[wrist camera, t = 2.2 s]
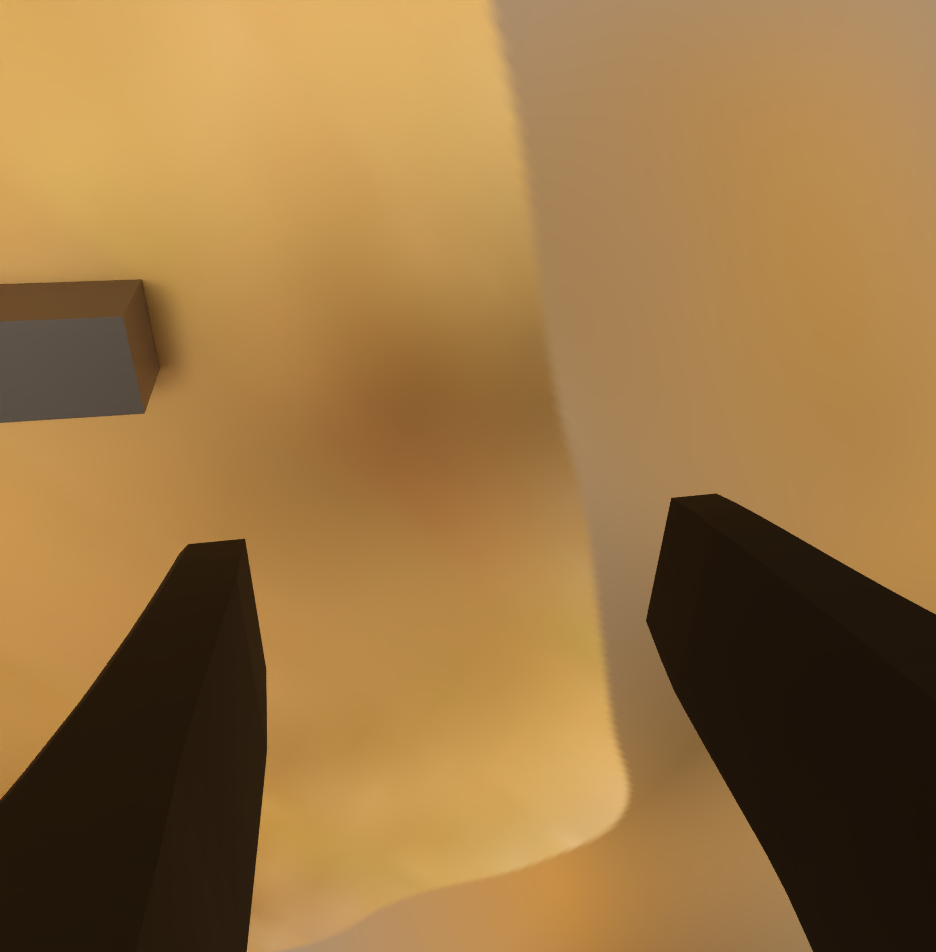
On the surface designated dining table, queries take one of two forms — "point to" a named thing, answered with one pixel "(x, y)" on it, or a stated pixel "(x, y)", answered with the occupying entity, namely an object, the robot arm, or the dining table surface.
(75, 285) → the plug
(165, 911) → the robot arm
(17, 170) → the dining table surface
